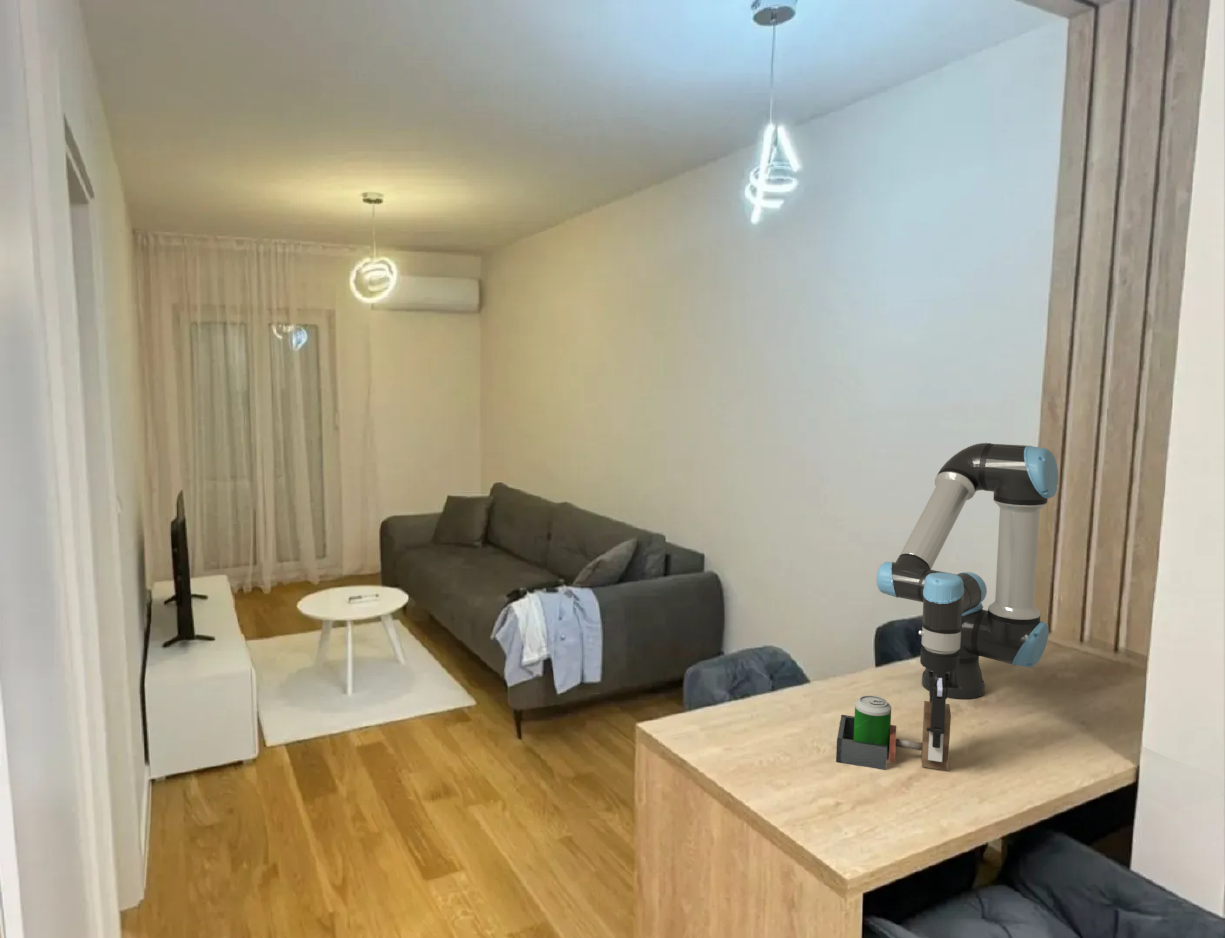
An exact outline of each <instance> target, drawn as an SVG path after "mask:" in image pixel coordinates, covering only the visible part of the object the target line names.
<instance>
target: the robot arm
mask: <svg viewBox="0 0 1225 938" xmlns="http://www.w3.org/2000/svg"><path fill="white" fill-rule="evenodd" d="M1058 484H1059V469H1058V463H1057V461H1056V457H1055V455H1054V453H1053V452H1052V451H1050V449H1048V448H1044V447H1039V446H1033V445H1025V444H1024V445H1023V444H1004V443H992V442H991V443H989V442H981V443H975V444H972V445H970V446H967V447H966V448H963V449H961V450H960V451H958V452H957V453H955V454H954V455H952V456H951V458H949V459H948V460H946V462H945V463H944V464H943V465H942V466H941V468H940V469H939V471H938V472H937V475H936V476H935V479H934V485H935V488H934V490H933V492H932V493H931V496H930V497H929V499H928V501H927V503H926V505H925V507H924V509H923V510H922V512H921V514H920V516H919V518H918V520H917V522H916V524H915V526H914V528H913V530H912V531H911V533H910V535H909V537H908V539H907V541H906V542H905V544H904V546H903V548H902V550H901V552H900V553H899V556H898V558H897V559H896V561H895V562H894V561H884V562H883V563H882V564H881V565H880V566H879V568H878V570H877V574H876V586H877V589H878V590H879V592H880V593H882V594H884V595H887V596H891V597H895V598H897V599H898V598H900V599H904V600H911V601H916V602H920V603H922V624H921V626H922V627H921V628H922V629H921V630H920V629H919V631H918V635H920V636H921V643H920V644H921V645H922V646H921V647H920V656H919V657H920V658H919V660H920V661H919V662H920V664H921V666H922V667H924V669H925V670H923V672H922V674H921V685H922V687H923V688H924V689H925V690H928V691H929V693H928V694H929V702H932V705H931V727H930V728H927V731H929V748H928V760H932V761H938V762H942V754H943V736H944V732H945V730H944V723H945V704H947V703H946V702H947V701H946V700H947V699H948V698H952V699H958V700H959V699H962V700H963V699H965V700H969V699H971V700H972V699H977V698H981V697H982V696H983V695H984V694H985V687H986V683H985V680H984V679H983V673H982V669H981V666H980V661H979V660H980V657H981V658H987V659H990V660H995V661H998V662H1002V663H1006V664H1009V665H1012V666H1019V667H1023V668H1024V667H1025V668H1032V667H1034V666H1036V665H1037V664H1038V663H1039V661H1040V660H1041V658H1042V656H1043V654H1044V652H1045V649H1046V646H1047V643H1048V639H1049V632H1050V629H1049V625H1048V623H1046V622H1045V621H1041V611H1040V610H1039V609H1038V608H1037V607H1036V606H1035V595H1036V594H1035V593H1036V575H1037V564H1038V563H1037V558H1038V547H1039V546H1038V544H1039V527H1040V525H1039V524H1040V511H1041V509H1043V508H1044V507H1045V506H1047V505H1048V499H1050V498H1051V499H1052V498H1053V497H1054V496H1055V495H1056V493H1057V491H1058ZM978 491H986V492H992V493H993V503H995V504H996V505H997V506H998V507H999V521H998V539H997V557H996V559H997V560H996V580H995V594H994V595H995V597H994V599H995V600H994V601H993V602H992V603H991V604H989V605H988V607H987V610H986V609H984V606H983V604H982V603H983V601H984V600H985V598H986V596H987V592H988V591H987V590H988V589H987V584H986V583H985V581H984V579H983V578H982V577H981V576H980V575H978V574H977V573H974V572H972V571H970V572H969V571H964V572H960V573H958V574H957V573H951V572H945V571H941V570H934V569H932V568H933V567H934V564H935V562H936V561H937V559H938V557H939V555H940V552H941V550H942V549H943V547H944V545H945V543H946V540H948V537H949V535H950V533H951V531H952V529H953V528H954V525H955V523H956V522H957V519H958V517H959V515H960V514H961V512H962V510H963V507H964V505H965V504H966V501H968V500H971V499H973V497H974V496H975V494H976V492H978Z"/></svg>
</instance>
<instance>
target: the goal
mask: <svg viewBox="0 0 1225 938" xmlns="http://www.w3.org/2000/svg"><path fill="white" fill-rule="evenodd" d="M854 718H855V715H854V716H852V715H847V714H841V715H840V721H839V727H838V732H837V738H836V753H835V754H836V755H835V756H836V757H835V759H836V760H835V762H836V763H840V764H846V765H853V766H860V767H865V768H866V767H867V768H871V769H876V770H877V769H878V770H884V771H886V770H887V760H888V759H887V758H888V754H887V745H882V744H875V743H869V742H862V741H856V740H854Z"/></svg>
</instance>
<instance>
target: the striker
mask: <svg viewBox="0 0 1225 938" xmlns="http://www.w3.org/2000/svg"><path fill="white" fill-rule="evenodd" d="M929 701H930V700H929ZM929 701H927V700H924V701H923V717H922V720H923V721H922V733H921V734H922V735H921V736H922V737H921V738H922V739H921V742H919V741H914V740H913V741H912V740H907V739H900V738H897V725H894V724H891V725H890V745H889V753H888V762H889V763H894V764H895V762H896V747H897V748H903V749H908V750H916V751H921V753H920V754H921V755H920V756H921V767H922V768H929V769H935V770H941V771H947V772H948V770H949V753H950V737H951V722H952V721H951V720H952V719H951V718H952V714H951V706H950V704H949V703H946V704H945V723H944V730H945V732H944V736H943V754H942V762H938V761H932V760H928V748H929V731H927V728H930V727H931V705H932V702H929Z"/></svg>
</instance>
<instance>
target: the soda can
mask: <svg viewBox="0 0 1225 938" xmlns="http://www.w3.org/2000/svg"><path fill="white" fill-rule="evenodd" d="M854 717H855V718H854V739H853V740H856V741H862V742H869V743H875V744H882V745H887V755H889V745H890V725H892V724H891V723H892V722H891V720H892V705H890V703H889V702H888V701H887V700H886V699H885V698H883V697H881V696H877V695H862V696H860V697H859V698H858V699H857V700H856V701H855V703H854Z"/></svg>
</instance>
